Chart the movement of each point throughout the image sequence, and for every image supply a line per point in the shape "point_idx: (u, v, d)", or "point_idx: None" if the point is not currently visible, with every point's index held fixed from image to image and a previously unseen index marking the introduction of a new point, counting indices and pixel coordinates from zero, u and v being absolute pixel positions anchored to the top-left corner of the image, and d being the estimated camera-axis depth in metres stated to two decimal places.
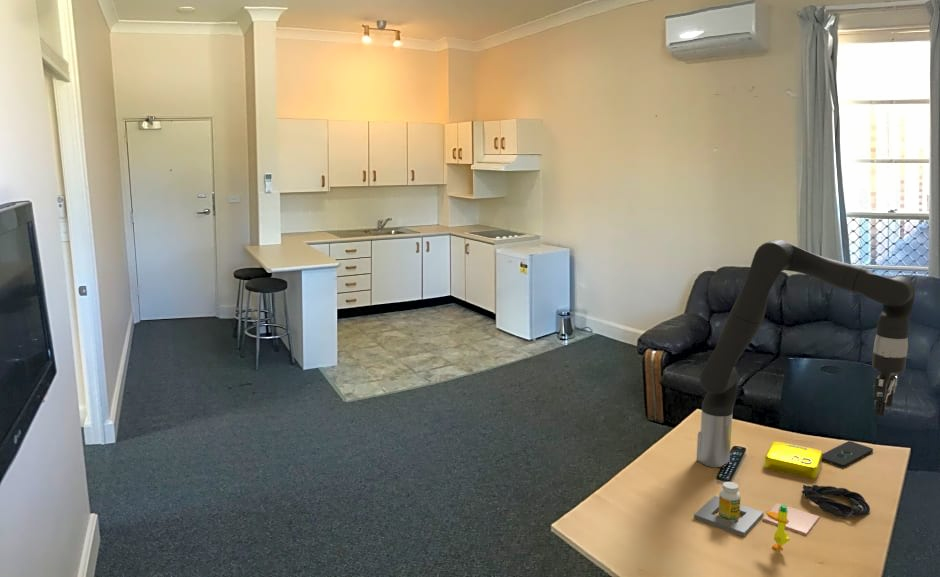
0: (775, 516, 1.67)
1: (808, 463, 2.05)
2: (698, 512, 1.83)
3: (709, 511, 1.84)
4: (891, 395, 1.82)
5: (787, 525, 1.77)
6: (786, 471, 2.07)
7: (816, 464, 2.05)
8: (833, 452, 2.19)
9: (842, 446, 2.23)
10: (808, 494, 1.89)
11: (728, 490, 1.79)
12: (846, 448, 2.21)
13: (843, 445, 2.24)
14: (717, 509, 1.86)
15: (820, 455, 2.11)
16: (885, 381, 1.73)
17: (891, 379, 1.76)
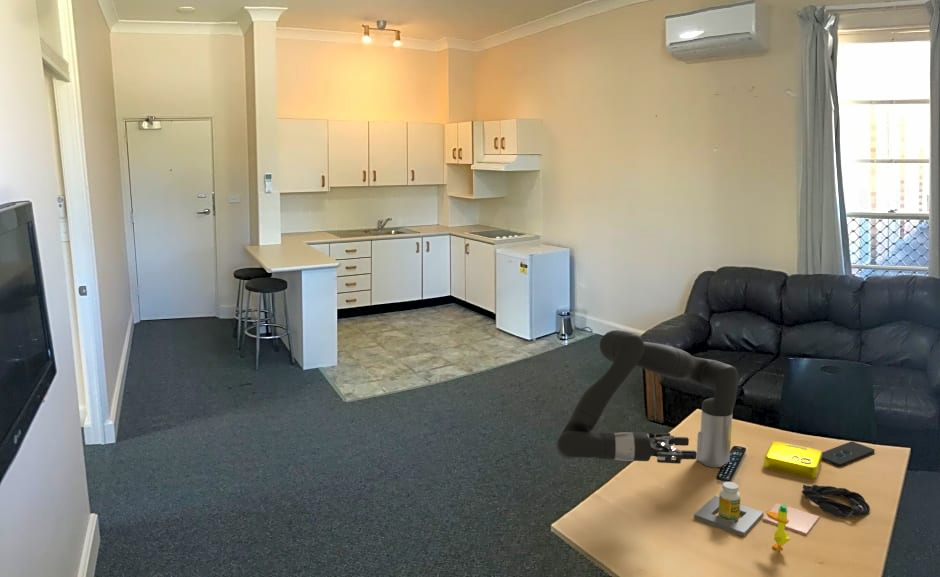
0: (775, 516, 1.67)
1: (808, 463, 2.05)
2: (698, 512, 1.83)
3: (709, 511, 1.84)
4: None
5: (787, 525, 1.77)
6: (786, 471, 2.07)
7: (815, 464, 2.05)
8: (832, 451, 2.19)
9: (843, 446, 2.23)
10: (808, 494, 1.89)
11: (728, 490, 1.80)
12: (847, 448, 2.21)
13: (844, 445, 2.24)
14: (717, 509, 1.86)
15: (820, 455, 2.11)
16: None
17: None
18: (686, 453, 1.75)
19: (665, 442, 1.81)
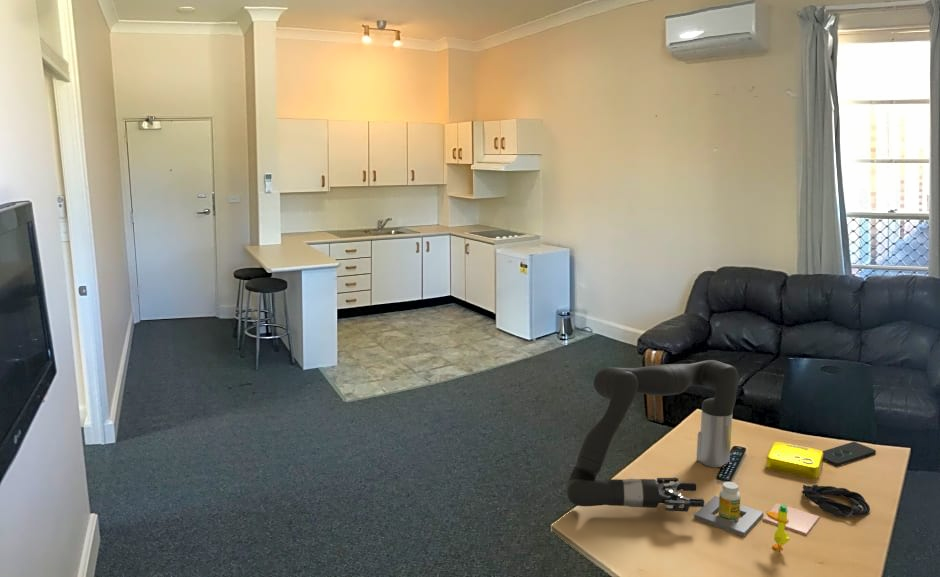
0: (775, 516, 1.67)
1: (810, 463, 2.05)
2: (698, 512, 1.83)
3: (709, 511, 1.84)
4: None
5: (787, 525, 1.77)
6: (788, 471, 2.07)
7: (817, 464, 2.04)
8: (831, 451, 2.20)
9: (844, 446, 2.23)
10: (808, 494, 1.89)
11: (728, 490, 1.80)
12: (847, 448, 2.21)
13: (845, 445, 2.24)
14: (717, 509, 1.86)
15: (821, 455, 2.11)
16: None
17: None
18: (694, 501, 1.78)
19: (673, 489, 1.83)
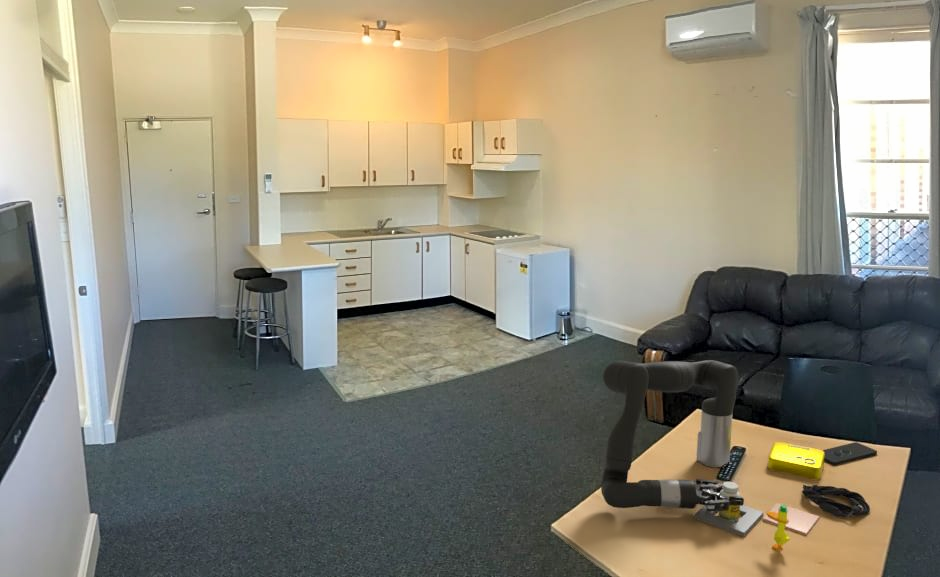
0: (775, 516, 1.67)
1: (812, 463, 2.04)
2: (698, 512, 1.83)
3: None
4: None
5: (787, 525, 1.77)
6: (790, 472, 2.07)
7: (819, 464, 2.04)
8: (831, 450, 2.20)
9: (845, 446, 2.23)
10: (808, 494, 1.89)
11: (728, 490, 1.79)
12: (848, 448, 2.21)
13: (846, 445, 2.24)
14: None
15: (823, 455, 2.10)
16: None
17: None
18: (733, 499, 1.78)
19: (710, 490, 1.82)
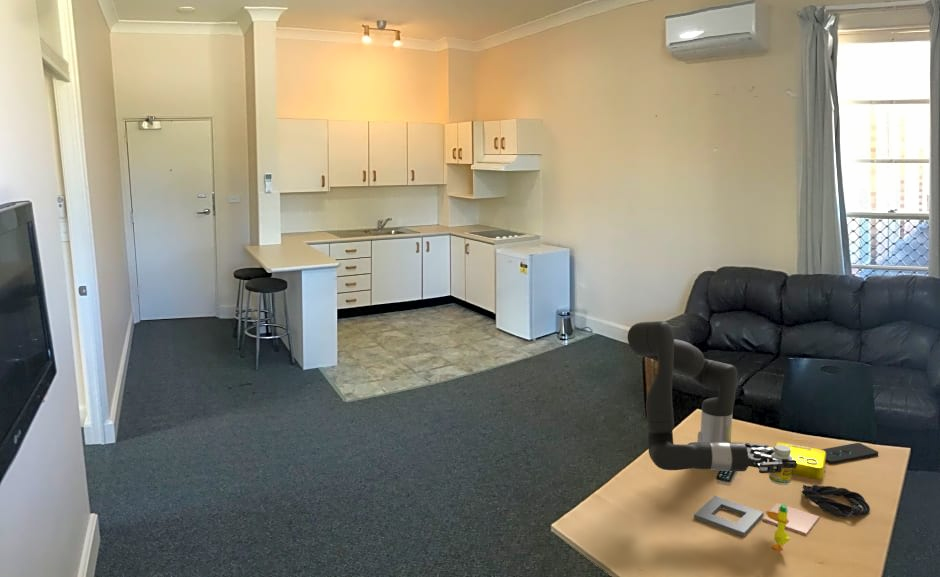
0: (775, 516, 1.67)
1: (814, 464, 2.04)
2: (698, 512, 1.83)
3: (709, 511, 1.84)
4: None
5: (787, 525, 1.77)
6: (792, 472, 2.06)
7: (822, 464, 2.04)
8: (830, 450, 2.20)
9: (846, 446, 2.23)
10: (808, 494, 1.89)
11: (780, 452, 1.76)
12: (849, 448, 2.21)
13: (848, 445, 2.23)
14: (717, 509, 1.86)
15: (824, 455, 2.10)
16: None
17: None
18: (786, 462, 1.74)
19: (761, 453, 1.79)
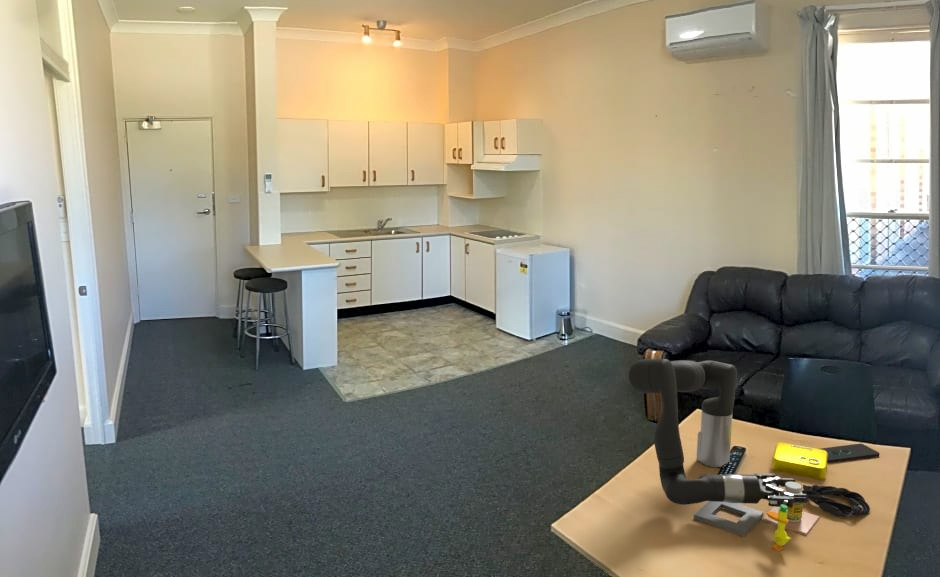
0: (775, 516, 1.67)
1: (816, 464, 2.04)
2: (698, 512, 1.83)
3: (709, 511, 1.84)
4: None
5: (787, 525, 1.77)
6: (794, 472, 2.06)
7: (824, 464, 2.04)
8: (830, 449, 2.21)
9: (847, 446, 2.23)
10: (808, 494, 1.89)
11: (791, 490, 1.78)
12: (849, 448, 2.21)
13: (849, 445, 2.23)
14: (717, 509, 1.86)
15: (826, 455, 2.10)
16: None
17: None
18: (797, 497, 1.75)
19: (773, 484, 1.81)
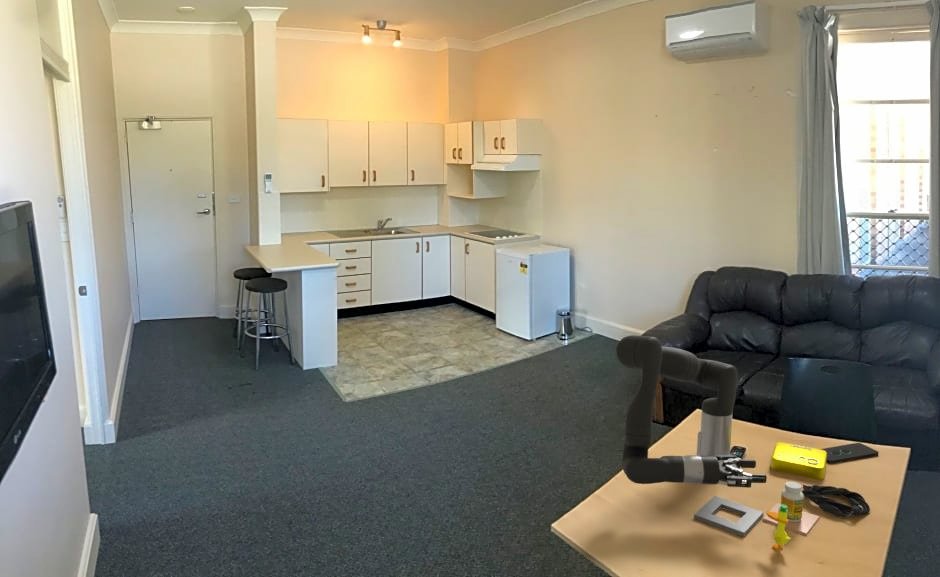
0: (775, 516, 1.67)
1: (815, 464, 2.04)
2: (698, 512, 1.83)
3: (709, 511, 1.84)
4: None
5: (787, 525, 1.77)
6: (793, 472, 2.06)
7: (823, 464, 2.04)
8: (830, 449, 2.21)
9: (846, 446, 2.23)
10: (808, 494, 1.89)
11: (791, 490, 1.78)
12: (849, 448, 2.21)
13: (848, 445, 2.24)
14: (717, 509, 1.86)
15: (825, 455, 2.10)
16: None
17: None
18: (756, 477, 1.75)
19: (733, 465, 1.80)
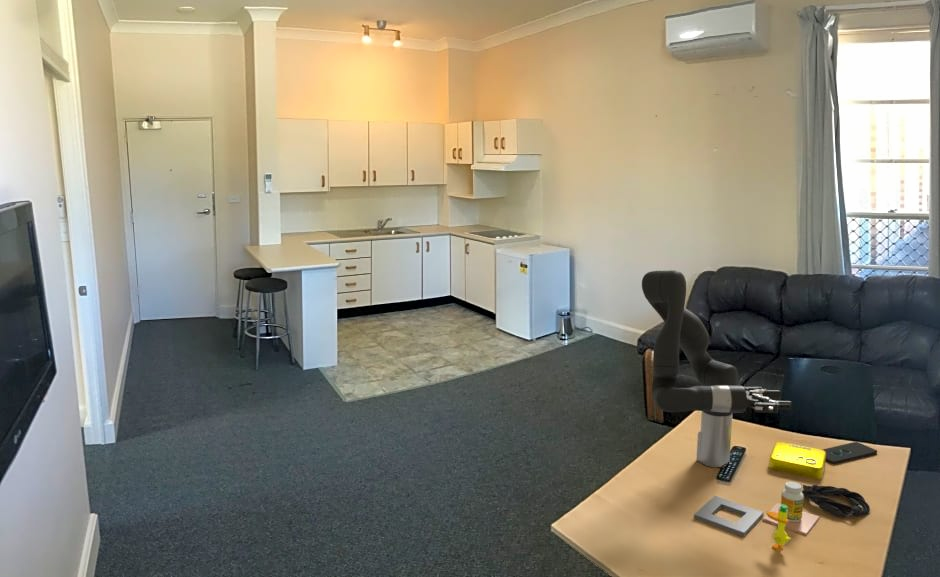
0: (775, 516, 1.67)
1: (813, 463, 2.04)
2: (698, 512, 1.83)
3: (709, 511, 1.84)
4: None
5: (787, 525, 1.77)
6: (791, 472, 2.06)
7: (821, 464, 2.04)
8: (830, 450, 2.20)
9: (845, 445, 2.23)
10: (808, 494, 1.89)
11: (791, 490, 1.78)
12: (848, 448, 2.22)
13: (846, 445, 2.24)
14: (717, 509, 1.86)
15: (824, 455, 2.10)
16: None
17: None
18: (782, 403, 1.82)
19: (759, 394, 1.87)
